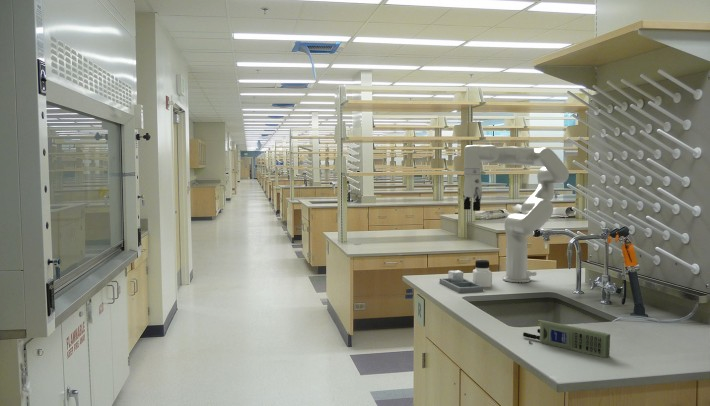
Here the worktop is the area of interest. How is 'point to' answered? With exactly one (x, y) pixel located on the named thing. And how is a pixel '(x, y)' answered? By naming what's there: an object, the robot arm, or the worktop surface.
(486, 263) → the medicine bottle
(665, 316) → the worktop surface
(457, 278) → the steel block
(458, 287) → the bay tray
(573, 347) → the handheld radio
